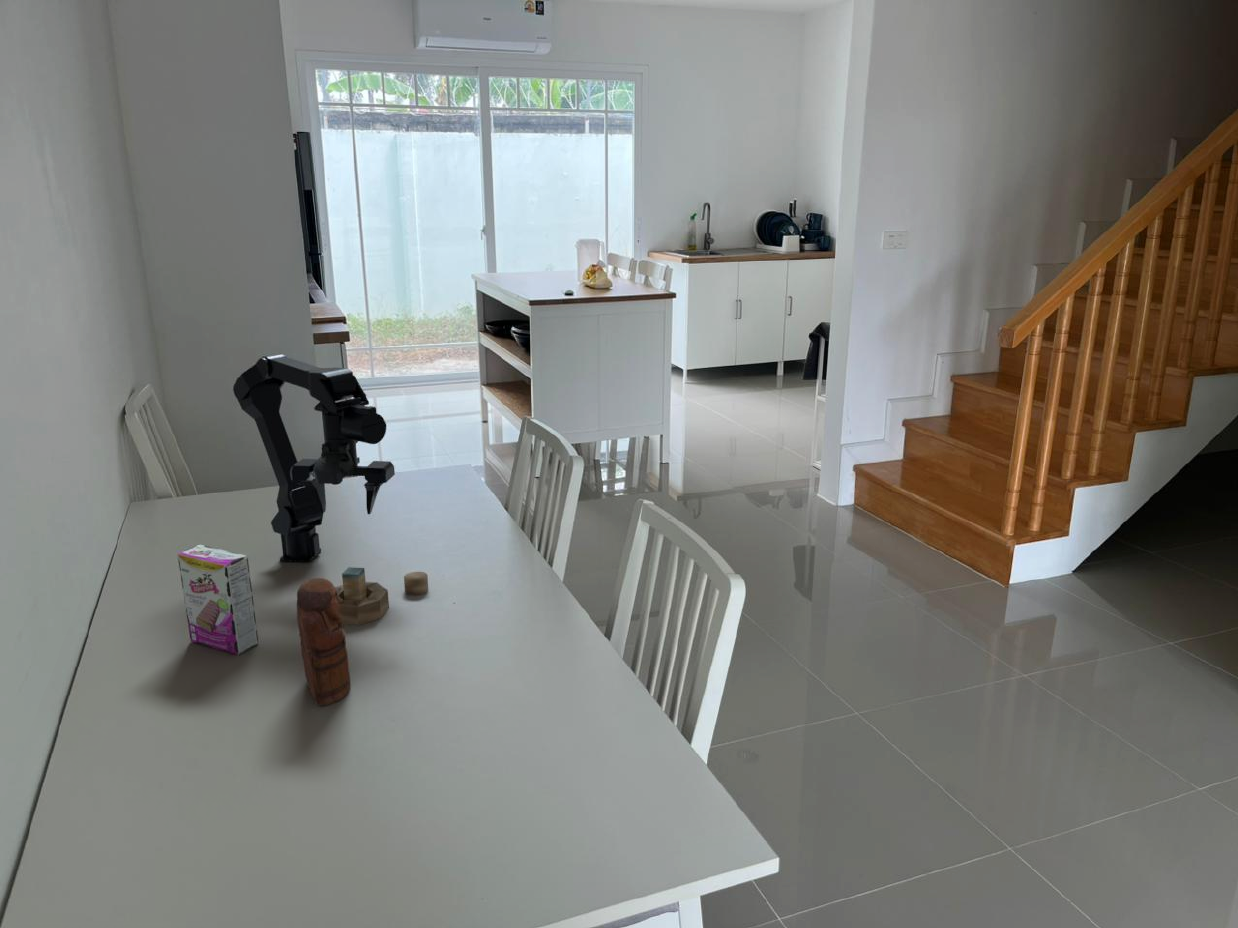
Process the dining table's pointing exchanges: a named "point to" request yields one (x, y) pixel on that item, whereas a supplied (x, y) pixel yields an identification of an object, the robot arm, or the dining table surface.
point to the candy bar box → (218, 598)
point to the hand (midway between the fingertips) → (346, 512)
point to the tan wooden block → (354, 584)
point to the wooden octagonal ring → (364, 605)
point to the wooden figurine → (322, 641)
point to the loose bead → (416, 583)
